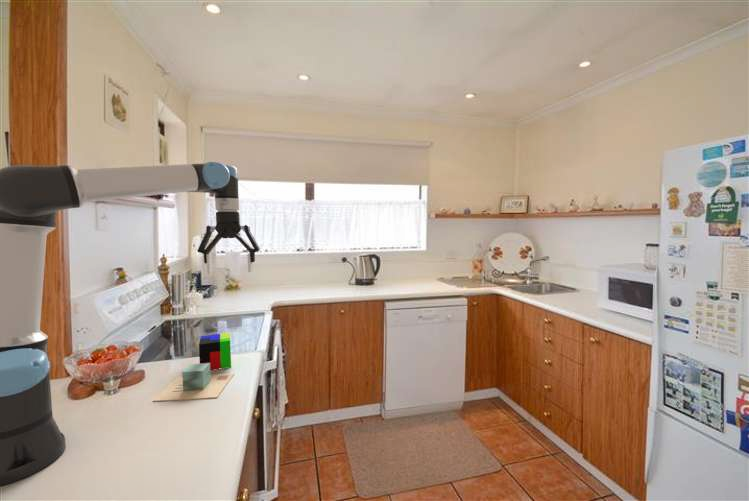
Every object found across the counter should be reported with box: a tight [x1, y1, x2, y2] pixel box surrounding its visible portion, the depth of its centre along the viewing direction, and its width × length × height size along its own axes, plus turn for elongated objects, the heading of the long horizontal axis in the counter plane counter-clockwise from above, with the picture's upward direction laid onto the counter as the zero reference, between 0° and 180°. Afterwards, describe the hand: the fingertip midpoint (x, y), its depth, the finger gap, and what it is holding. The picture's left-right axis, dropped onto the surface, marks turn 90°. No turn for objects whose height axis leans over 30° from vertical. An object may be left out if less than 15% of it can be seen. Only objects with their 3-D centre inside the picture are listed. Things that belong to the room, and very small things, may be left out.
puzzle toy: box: [198, 332, 232, 371], centre depth 124 cm, size 10×10×10 cm
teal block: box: [181, 363, 211, 391], centre depth 107 cm, size 6×6×6 cm
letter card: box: [152, 373, 235, 403], centre depth 107 cm, size 18×16×1 cm
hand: (230, 272), depth 118 cm, fingers open, 13 cm apart
